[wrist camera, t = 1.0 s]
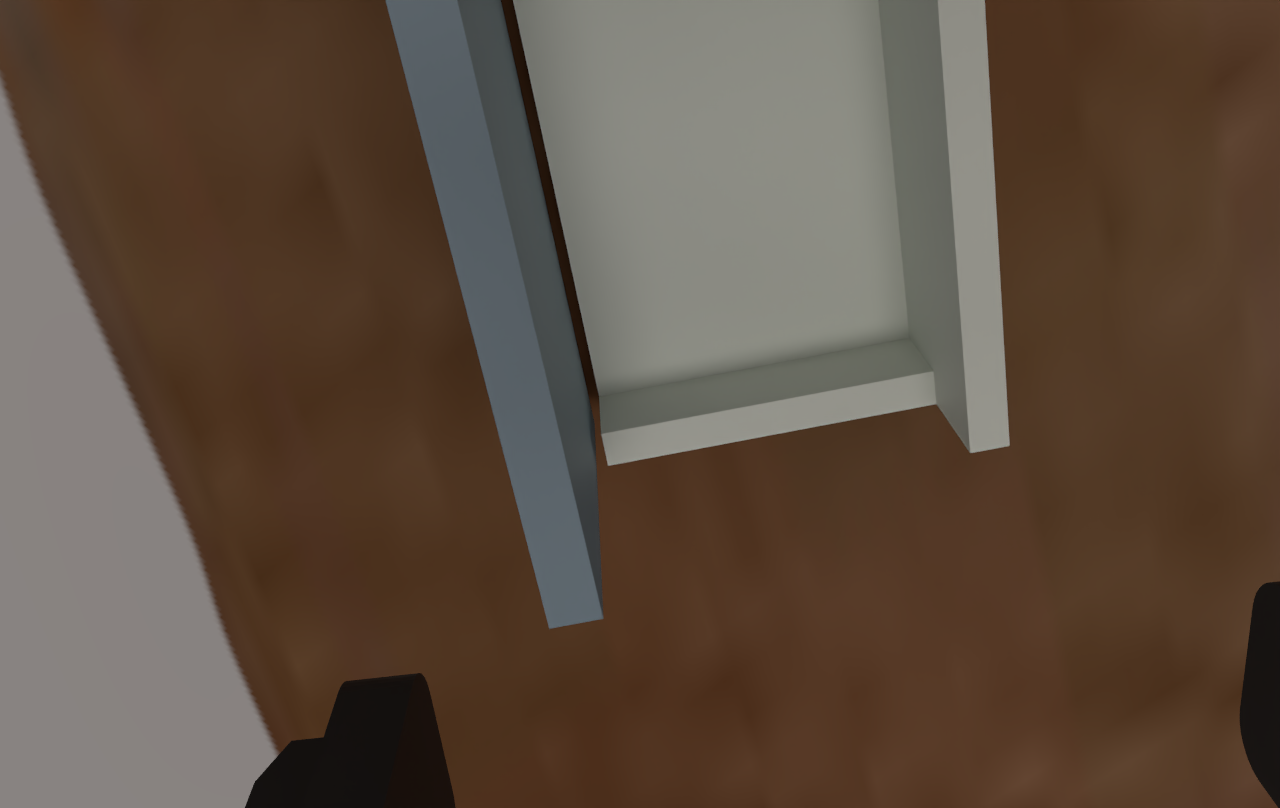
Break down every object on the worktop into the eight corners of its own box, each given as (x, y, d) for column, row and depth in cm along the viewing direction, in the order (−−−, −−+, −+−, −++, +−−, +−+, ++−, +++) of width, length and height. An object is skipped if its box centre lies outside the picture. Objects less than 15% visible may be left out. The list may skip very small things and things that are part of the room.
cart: (878, -293, 29) (965, -339, 22) (931, 343, 36) (1009, 445, 30) (471, -210, 29) (443, -232, 23) (604, 405, 36) (611, 520, 30)
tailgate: (468, -151, 29) (419, -161, 19) (593, 415, 35) (603, 618, 26) (420, -141, 29) (347, -147, 19) (554, 423, 35) (549, 629, 26)
